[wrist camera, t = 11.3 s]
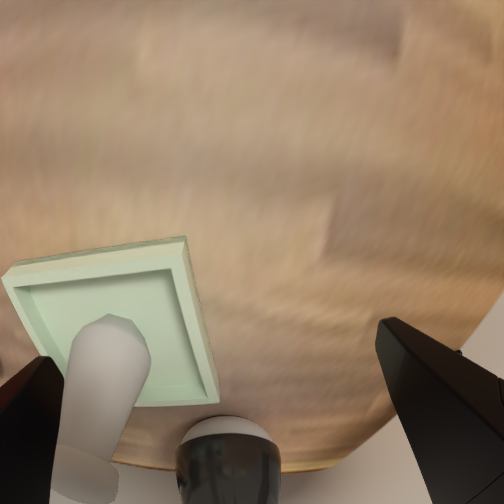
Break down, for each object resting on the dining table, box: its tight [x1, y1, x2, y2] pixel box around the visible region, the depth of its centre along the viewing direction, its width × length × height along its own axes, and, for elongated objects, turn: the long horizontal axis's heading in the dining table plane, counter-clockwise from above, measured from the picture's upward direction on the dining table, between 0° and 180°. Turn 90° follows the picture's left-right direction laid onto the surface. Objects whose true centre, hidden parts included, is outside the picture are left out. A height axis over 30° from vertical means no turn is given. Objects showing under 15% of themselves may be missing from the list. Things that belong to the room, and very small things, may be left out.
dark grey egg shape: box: [175, 416, 281, 504], centre depth 23 cm, size 10×10×15 cm
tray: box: [1, 236, 220, 407], centre depth 21 cm, size 14×14×2 cm
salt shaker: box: [51, 313, 151, 504], centre depth 16 cm, size 6×6×13 cm
